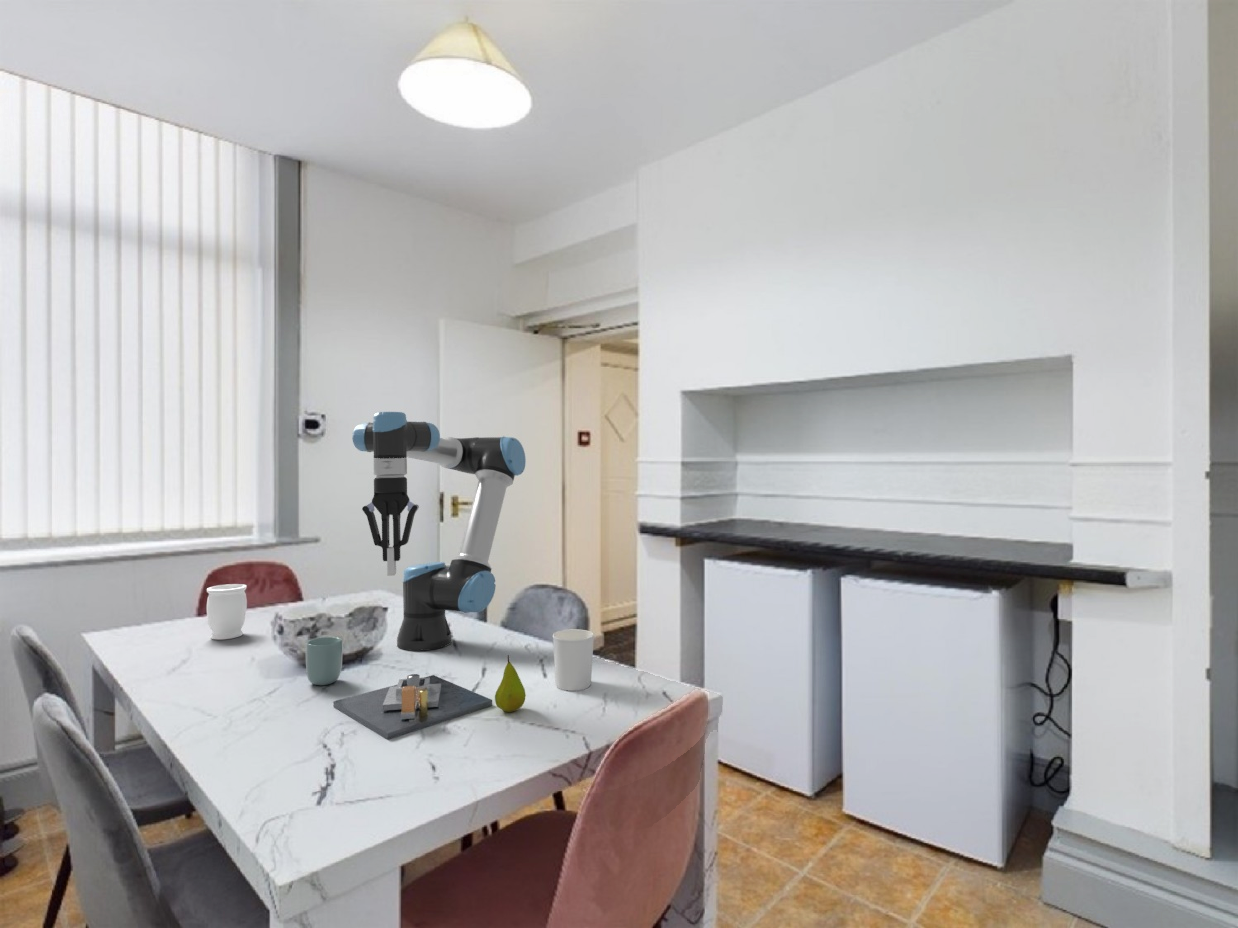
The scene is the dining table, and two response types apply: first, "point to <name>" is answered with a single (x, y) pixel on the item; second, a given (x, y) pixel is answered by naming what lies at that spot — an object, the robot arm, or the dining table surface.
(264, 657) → the dining table surface
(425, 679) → the grey metal fixture
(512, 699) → the fruit
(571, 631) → the white tumbler
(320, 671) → the cup
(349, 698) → the base
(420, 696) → the dowel
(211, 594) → the jar
